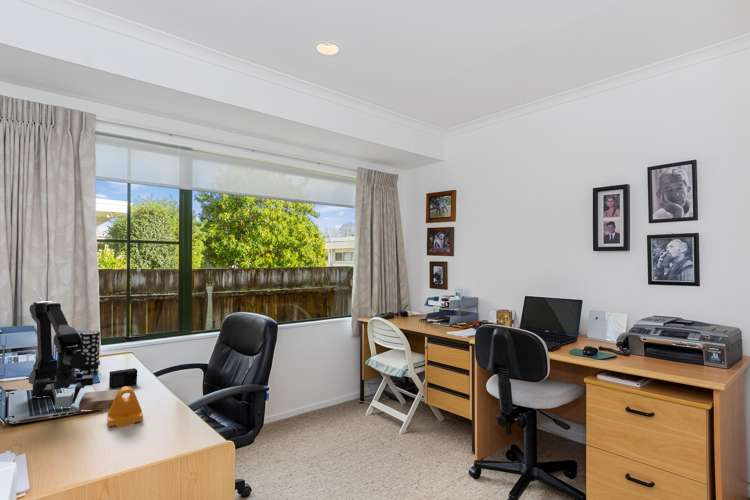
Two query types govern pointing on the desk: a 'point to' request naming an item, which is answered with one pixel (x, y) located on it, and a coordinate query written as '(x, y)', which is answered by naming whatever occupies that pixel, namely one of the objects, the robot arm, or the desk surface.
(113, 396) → the walnut block
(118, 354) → the desk surface
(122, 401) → the bracket
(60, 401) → the slate cube
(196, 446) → the desk surface
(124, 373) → the digital camera
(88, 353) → the spotted tube
